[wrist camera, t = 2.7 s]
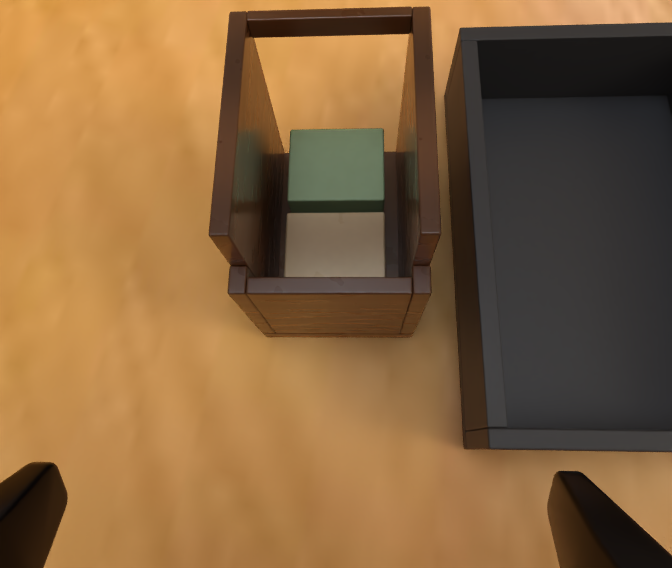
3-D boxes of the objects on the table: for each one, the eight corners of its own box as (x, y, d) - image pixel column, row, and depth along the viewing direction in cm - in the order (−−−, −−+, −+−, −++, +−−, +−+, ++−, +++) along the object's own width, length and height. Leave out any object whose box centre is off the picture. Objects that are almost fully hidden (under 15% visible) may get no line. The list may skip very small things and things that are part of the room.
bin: (747, 453, 21) (847, 455, 17) (463, 448, 22) (489, 449, 17) (671, 91, 26) (733, 20, 22) (444, 95, 27) (459, 27, 23)
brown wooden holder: (412, 337, 23) (443, 268, 14) (265, 337, 24) (204, 268, 15) (407, 159, 26) (430, 5, 17) (275, 161, 26) (229, 10, 17)
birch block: (383, 311, 23) (386, 292, 20) (292, 311, 23) (282, 292, 20) (382, 239, 24) (385, 211, 21) (295, 240, 24) (286, 211, 21)
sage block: (382, 229, 24) (384, 199, 21) (295, 229, 24) (286, 200, 21) (381, 163, 25) (383, 127, 22) (298, 165, 25) (290, 128, 22)
